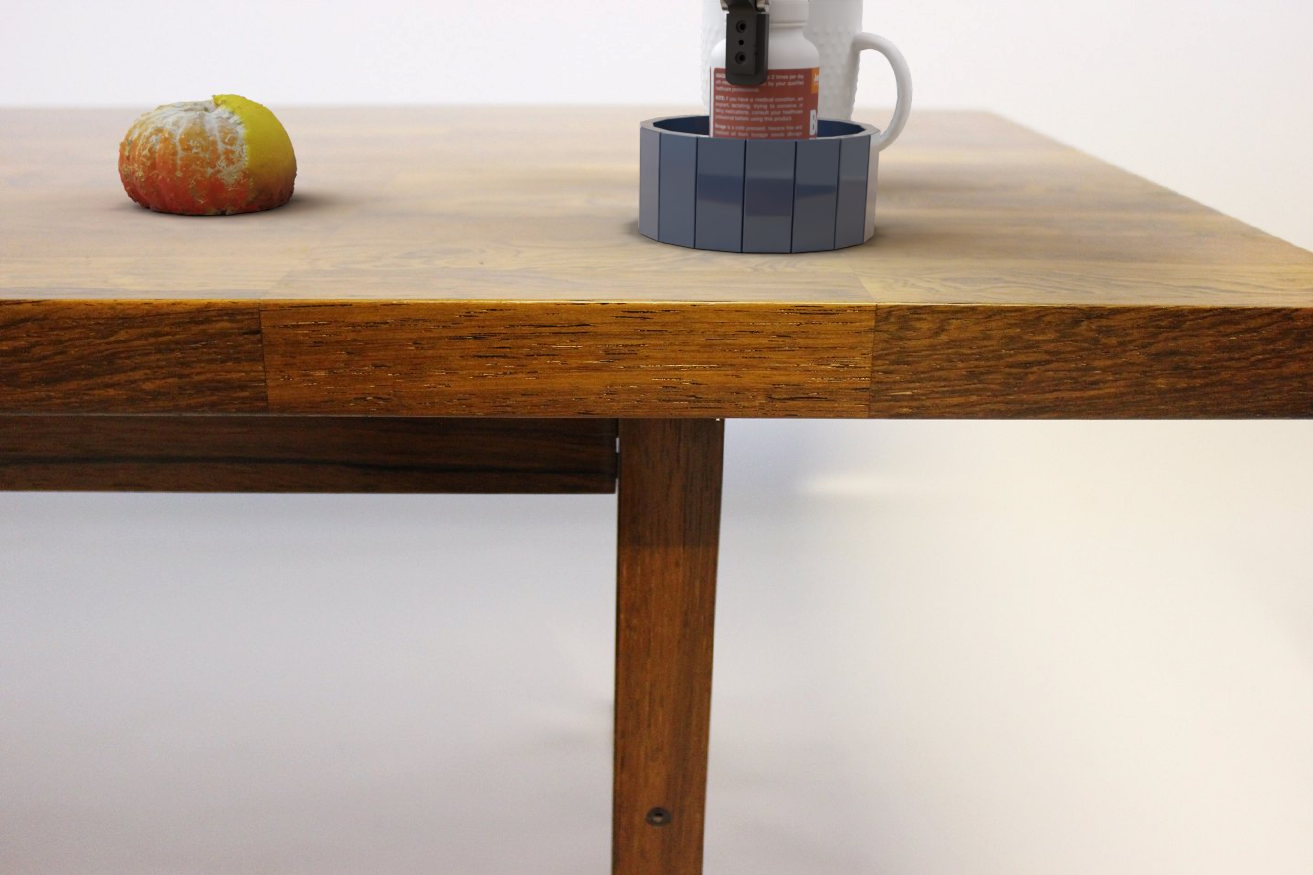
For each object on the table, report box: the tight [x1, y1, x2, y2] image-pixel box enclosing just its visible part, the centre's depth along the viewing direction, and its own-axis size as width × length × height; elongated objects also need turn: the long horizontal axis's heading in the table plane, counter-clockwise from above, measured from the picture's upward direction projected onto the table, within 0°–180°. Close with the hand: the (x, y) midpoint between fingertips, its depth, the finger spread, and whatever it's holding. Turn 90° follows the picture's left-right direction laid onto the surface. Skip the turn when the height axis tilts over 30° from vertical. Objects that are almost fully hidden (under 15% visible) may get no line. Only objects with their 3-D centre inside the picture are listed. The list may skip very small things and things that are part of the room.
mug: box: [700, 0, 913, 153], centre depth 94 cm, size 15×11×13 cm
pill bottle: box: [709, 0, 819, 138], centre depth 77 cm, size 6×6×11 cm
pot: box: [637, 113, 882, 254], centre depth 78 cm, size 14×14×6 cm
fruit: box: [117, 93, 298, 216], centre depth 84 cm, size 11×10×8 cm
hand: (764, 80), depth 76 cm, fingers closed on pill bottle, 6 cm apart
